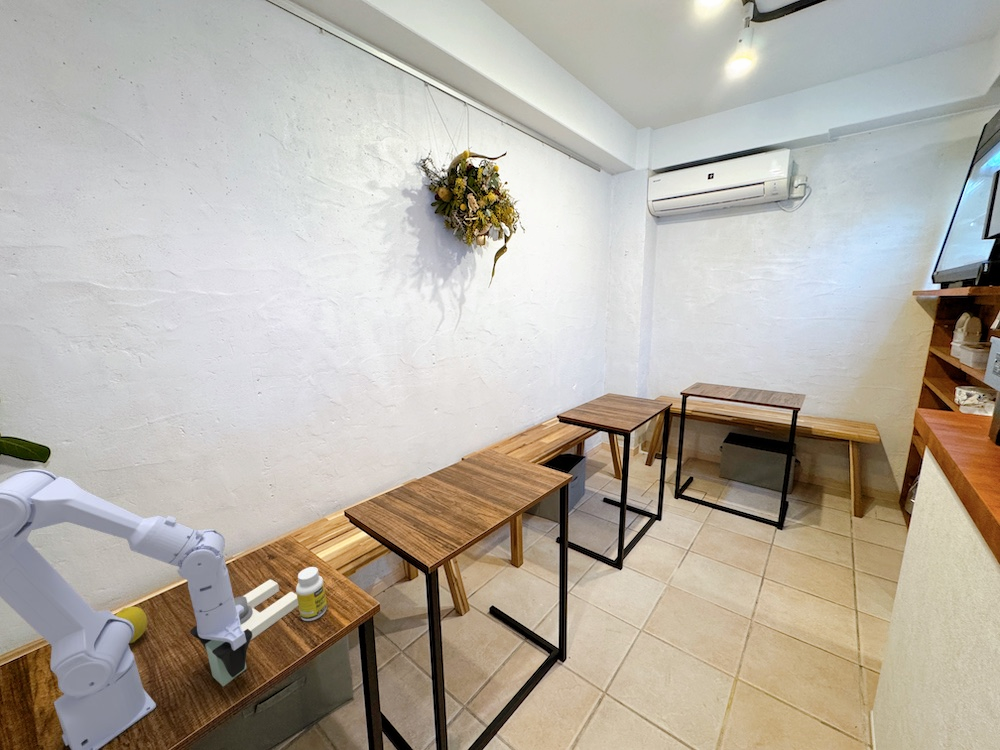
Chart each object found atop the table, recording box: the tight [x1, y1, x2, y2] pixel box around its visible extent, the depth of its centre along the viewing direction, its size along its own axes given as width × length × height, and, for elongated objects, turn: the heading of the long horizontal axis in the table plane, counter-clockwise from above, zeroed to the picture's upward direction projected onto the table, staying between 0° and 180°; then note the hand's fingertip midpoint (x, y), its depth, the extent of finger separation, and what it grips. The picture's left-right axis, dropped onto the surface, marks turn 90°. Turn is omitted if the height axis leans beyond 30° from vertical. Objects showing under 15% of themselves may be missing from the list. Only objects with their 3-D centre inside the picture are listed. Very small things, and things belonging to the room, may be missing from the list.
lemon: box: [114, 606, 148, 644], centre depth 80 cm, size 6×6×8 cm
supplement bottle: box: [295, 566, 328, 622], centre depth 85 cm, size 5×5×10 cm
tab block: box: [205, 640, 248, 687], centre depth 72 cm, size 4×4×7 cm
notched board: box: [234, 578, 299, 641], centre depth 85 cm, size 15×12×6 cm
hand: (228, 663), depth 72 cm, fingers open, 7 cm apart
